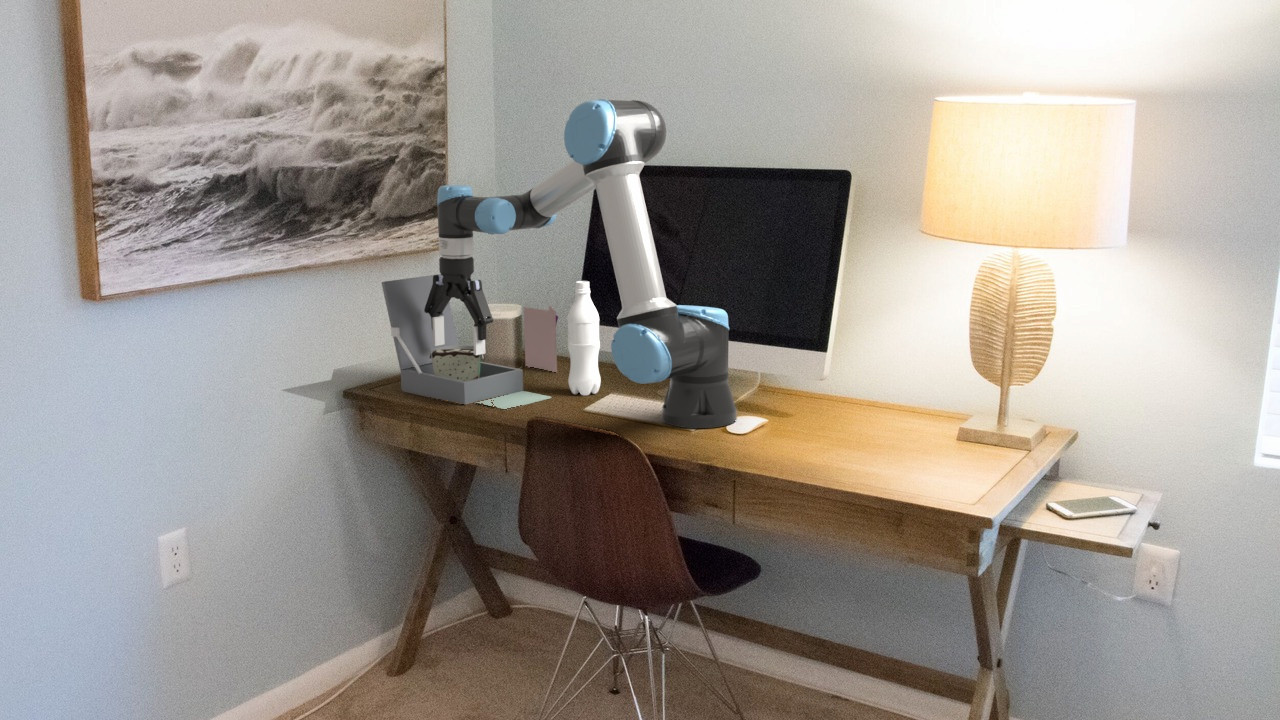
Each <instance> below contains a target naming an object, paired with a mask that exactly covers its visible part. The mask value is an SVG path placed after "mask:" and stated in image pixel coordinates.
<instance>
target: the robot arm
mask: <svg viewBox="0 0 1280 720" xmlns="http://www.w3.org/2000/svg"><path fill="white" fill-rule="evenodd" d="M666 139H667V125H666V121H665V118H664V117H663V115H662V113H660V111H659V110H658V109H657V108H656V107H655V106H653V105H652V104H650V103H649V102H646V101H643V100H636V99H635V100H634V99H633V100H621V99H620V100H618V99H616V100H613V99H604V98H603V99H601V98H600V99H597V100H587V101H583V102H581V103H580V104H578V105H577V106H576V107H575V108H574V109H573V110H572V111H571V113H570V114H569V117H568V120H567V121H566V123H565V126H564V132H563V142H564V146H565V150H566V152H567V154H568V155H569V157H570V158H571V159H573V160H572V161H570V162H568V163H567V164H566V165H564V166H562V167H561V168H560V169H558V170H557V171H555V172H554V173H552V174H551V175H549V176H548V177H546V178H545V179H544V180H542V181H541V182H539V183H538V184H536V185H535V186H534V187H532V188H530V189H529V190H528V191H526V192H524V193H522V194H514V195H501V196H474V194H473V190H472V187H471V186H470V185H465V184H446V185H445V184H444V185H441V186H439V188H438V190H437V201H436V203H437V204H436V207H437V227H438V229H437V230H438V231H437V233H438V254H439V255H440V258H439V260H438V261H439V262H438V263H439V264H438V265H439V268H438V269H439V274H433V275H434V276H433V285H432V288H431V291H430V294H429V297H428V300H427V303H426V306H425V309H424V311H425V313H429V314H430V316H431V323H432V330H433V346H438V345H444V344H445V340H444V316H439V315H443V313H442V312H443V311H444V309H445V307H446V306H447V304H448V302H450V301H451V299H453V298H455V299H456V300H460V301H461V302H463V305H464V306H465V307H466V309H467V311H468V314H470V316H471V318H472V320H473V322H474V323H475V324H473V325H472V330H473V331H472V334H473V335H472V336H473V346H474V355H480V354H483V355H485V354H486V340H487V325H489V324H492V323H493V322H494V318H493V316H492V312H491V310H490V307H489V305H488V301H487V299H486V295H485V293H484V290H483V283H482V280H481V279H475V280H472V278H471V277H472V274H474V271H475V259H474V258H473V256H472V255H474V254H475V252H474V251H475V250H474V232H477V233H483V234H488V235H505V234H507V233H509V231H510V232H511V231H517V230H528V229H541V228H543V227H548V226H550V225H552V224H553V223H554V222H555V219H556V217H557V215H558V213H560V212H562V211H563V210H565V209H566V208H568V207H570V206H571V205H572V204H573V205H574V203H575V202H578V201H579V200H581V199H583V197H585V196H586V195H588V194H590V193H592V191H596V195H597V199H598V204H599V209H600V212H601V213H600V214H601V218H602V222H603V226H604V230H605V236H606V240H607V245H608V250H609V253H610V259H611V262H612V263H611V264H612V266H613V267H612V268H613V272H614V276H615V279H616V284H617V288H618V293H619V297H620V301H621V310H620V311H619V314H618V315H617V317H616V321H617V325H618V329H617V330H616V331H615V332H614V334H613V336H612V337H613V339H612V341H611V347H610V349H611V355H612V358H613V361H614V364H615V365H616V367H617V369H618V370H619V372H620V373H621V374H622V375H623V376H624V377H627V378H628V379H629V380H630V381H632V382H634V383H637V384H640V385H643V384H646V385H647V384H653V383H655V384H656V383H660V382H663V381H664V380H668V379H669V380H670V381H669V385H668V388H667V392H666V395H665V398H664V401H663V405H662V407H661V420H662V421H663V422H664V423H665V424H668V425H671V426H675V427H680V428H689V429H709V428H710V429H712V428H719V427H725V426H729V425H731V424H734V423H735V422H736V421H737V418H738V417H737V414H738V413H737V412H738V409H737V406H736V404H735V400H734V397H733V394H732V391H731V386H730V384H729V341H730V340H729V334H730V333H729V331H730V326H729V316H728V313H727V312H726V310H724V309H722V308H718V307H713V306H711V307H710V306H700V305H689V304H688V305H686V304H685V305H683V304H682V305H681V304H678V305H677V304H676V303H674V302H673V301H672V300H671V299H669V298H667V295H666V294H667V293H666V290H665V285H664V281H663V277H662V272H661V267H660V263H659V258H658V255H657V254H658V253H657V249H656V244H655V241H654V236H653V232H652V227H651V224H650V223H651V222H650V217H649V214H648V211H647V210H648V209H647V206H646V202H645V196H644V192H643V187H642V183H641V178H640V174H641V172H642V170H643V168H644V166H645V165H646V163H649V161H651V160H653V158H654V157H656V156H657V155H658V154H659V153H660V151H661V150H662V148H663V147H664V145H665V143H666ZM431 306H432V307H431ZM735 420H736V421H735ZM734 421H735V422H734Z"/></svg>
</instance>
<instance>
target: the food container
mask: <svg viewBox="0 0 1280 720" xmlns="http://www.w3.org/2000/svg"><path fill="white" fill-rule="evenodd" d="M430 358H432V364H433V371H434V375H436V376H441V377H446V378H451V379H455V380H460V381H469V380H473V379H478V378H480V362H482V361H481V360H483V359H484V358H485V357H484V354H480V355H474V345H462V344H461V345H459V346H445V347H438V348H434V349H431V352H430V354H429V359H430Z"/></svg>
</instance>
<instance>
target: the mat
mask: <svg viewBox="0 0 1280 720" xmlns="http://www.w3.org/2000/svg"><path fill="white" fill-rule="evenodd" d="M548 399H552V396H550V395H545V394H541V393H537V392H536V393H535V392H530V391H526V390H523V391H520V392H516V393H512V394H508V395H504V396H500V397H496V398H492V399H488V400H484V401H480V402H475V403H474V404H476V403H480V404H481V403H483V404H484V405H488V406H492V405H493V404H494V405H493V407H494V406H496V407H497V408H501V409H507V408H511V407H515V408H517V407H516V406H519V407H521V406H520V405H522V406H525V405H530V404H533V403H537V402H541V401H542V402H543V401H546V400H548ZM491 400H492V401H491ZM493 400H494V401H493ZM491 402H493V404H492V403H491ZM511 409H512V408H511ZM507 410H508V409H507Z"/></svg>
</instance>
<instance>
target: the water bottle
mask: <svg viewBox="0 0 1280 720" xmlns="http://www.w3.org/2000/svg"><path fill="white" fill-rule="evenodd" d="M574 290H575V291H574V293H575V297H574V301H573V303H572V305H571V307H570V309H569V311H568V314H567V319H566V322H567V349H568V352H569V359H570V360H569V361H570V366H569V367H570V368H569V369H570V370H569V375H568V379H567V380H568V386H569V390H570V391H571V393H572V394H573V395H578V393H580V394H579V395H581V396H584V397H585V396H589V395H590V394H594V395H597V393H598V392H599V390H600V387H601V383H602V380H601V378H602V377H601V374H600V370H599V352H600V348H601V341H600V321H601V320H600V316H599V312H598V310H597V308H596V306H595V305H594V302H593V300H592V298H591V288H590V281H588V280H578V281H575V289H574Z"/></svg>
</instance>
